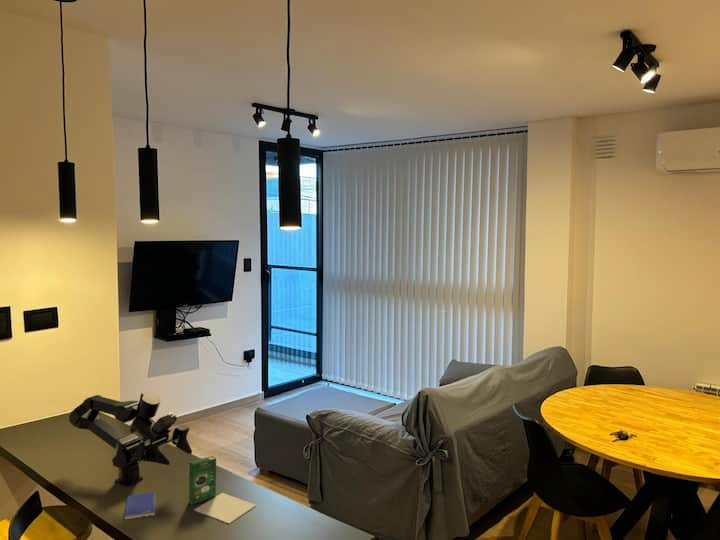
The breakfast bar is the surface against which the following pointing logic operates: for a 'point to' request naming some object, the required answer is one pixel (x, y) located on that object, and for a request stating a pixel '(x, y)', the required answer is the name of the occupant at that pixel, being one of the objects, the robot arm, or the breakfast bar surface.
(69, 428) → the breakfast bar surface
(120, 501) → the breakfast bar surface
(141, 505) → the hard drive
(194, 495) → the coffee box
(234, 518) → the mat
